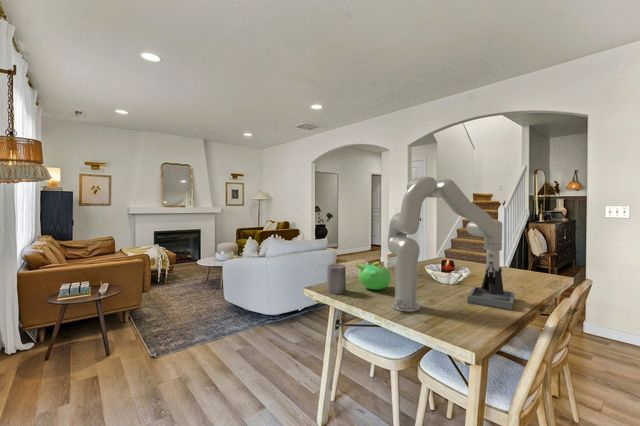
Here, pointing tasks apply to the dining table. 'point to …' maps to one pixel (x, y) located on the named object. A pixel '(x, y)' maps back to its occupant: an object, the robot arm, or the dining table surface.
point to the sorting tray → (491, 299)
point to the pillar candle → (336, 279)
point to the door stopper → (491, 288)
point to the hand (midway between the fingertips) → (491, 283)
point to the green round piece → (374, 276)
